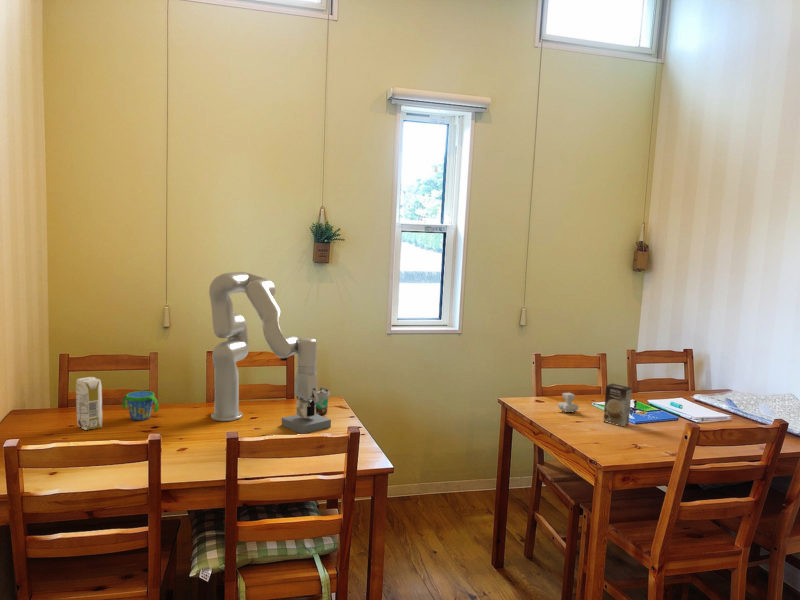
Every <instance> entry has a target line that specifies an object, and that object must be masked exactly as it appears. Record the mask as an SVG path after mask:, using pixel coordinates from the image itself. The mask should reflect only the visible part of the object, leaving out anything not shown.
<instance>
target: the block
mask: <svg viewBox="0 0 800 600" xmlns="http://www.w3.org/2000/svg"><path fill="white" fill-rule="evenodd" d="M311 401H312V400H310V403H311ZM307 407H308V402H307V400H305V399H301V400H298V399H297V400H296V414H295V415H298V416H300V417H302V418H308V416H307ZM314 416H316V405H315V411H314ZM309 417H313V416H309Z"/></svg>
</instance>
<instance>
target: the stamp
mask: <svg viewBox="0 0 800 600" xmlns="http://www.w3.org/2000/svg"><path fill="white" fill-rule="evenodd" d="M561 393H562V394H561V395H562V398H563V399H564V400H565V401H562V402H558V403H557V406H558V409H559V410H561V409H562V410H564V411H566V412H572V411H573V412H574V411H578V410H579V408H580V407H579V405H578V404H575V403H573V402H572V401H573V400H575V398H576V395H575V394H574V393H572V392H561ZM562 410H561V411H562ZM564 411H563V412H564ZM566 412H565V413H566ZM574 413H575V412H574Z"/></svg>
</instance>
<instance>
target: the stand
mask: <svg viewBox="0 0 800 600" xmlns="http://www.w3.org/2000/svg"><path fill="white" fill-rule="evenodd" d="M282 425H283V427H285V428H288V429H289V430H292V431H293V432H295V433H299V434H300V435H304V434H307V433H313V432H315V431H320V430H325V429H328V428H329V429H330V428H331V427H332V420H331V419H330V418H328V417H326V416H324V415H323V416H320V415H318V414H316V416H313V417H308V418H302V417H300V416H298V415H296V414H294V415H288V416H284V417H283V416H282V417H281V426H282Z"/></svg>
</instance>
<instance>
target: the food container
mask: <svg viewBox="0 0 800 600" xmlns="http://www.w3.org/2000/svg"><path fill="white" fill-rule="evenodd" d="M317 396H318V399H319V400H318V401H317V403H316V414H318V415H320V416H321V415H323V416H326V415H327V414H328V407H329V406H328V405H329V397H330V396H331V392H330V389H328V388H326V387H322V386H321V387H319V390H318V393H317ZM311 398H312V397H311ZM326 413H327V414H326ZM325 414H326V415H325Z"/></svg>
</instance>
